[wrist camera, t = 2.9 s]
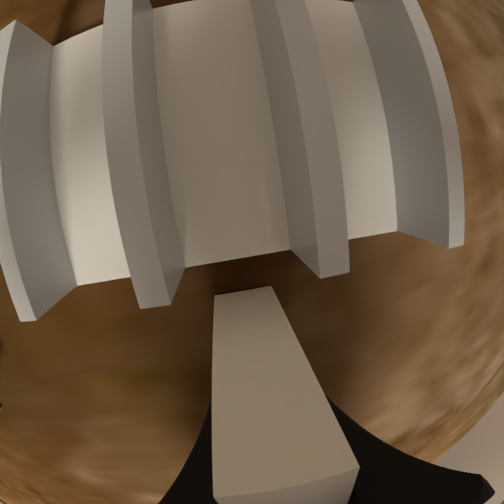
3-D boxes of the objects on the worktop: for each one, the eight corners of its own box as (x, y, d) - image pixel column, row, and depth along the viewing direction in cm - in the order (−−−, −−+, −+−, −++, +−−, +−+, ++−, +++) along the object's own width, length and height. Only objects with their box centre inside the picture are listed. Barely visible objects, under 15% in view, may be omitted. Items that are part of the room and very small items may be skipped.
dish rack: (406, 222, 11) (471, 242, 7) (64, 281, 10) (11, 322, 6) (368, 16, 8) (412, -23, 4) (41, 65, 7) (-9, 37, 3)
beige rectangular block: (286, 409, 12) (329, 545, 5) (243, 417, 12) (265, 558, 5) (271, 285, 11) (359, 466, 3) (214, 295, 10) (213, 497, 3)
